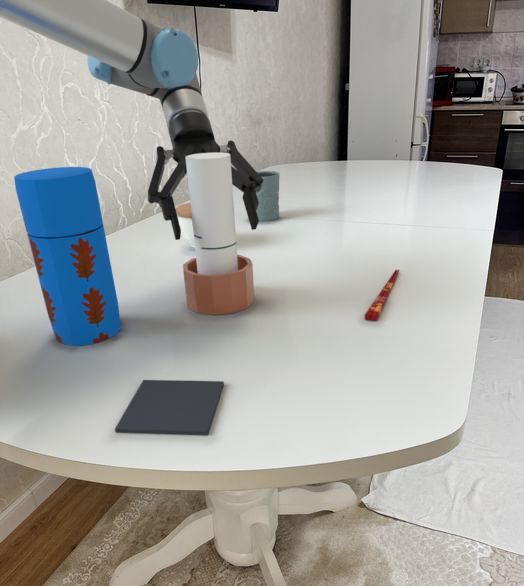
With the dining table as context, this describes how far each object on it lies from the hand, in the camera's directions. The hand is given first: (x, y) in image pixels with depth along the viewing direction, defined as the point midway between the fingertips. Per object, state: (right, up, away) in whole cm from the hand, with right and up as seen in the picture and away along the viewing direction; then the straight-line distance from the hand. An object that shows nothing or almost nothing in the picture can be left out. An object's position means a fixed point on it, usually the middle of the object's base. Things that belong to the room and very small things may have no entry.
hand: (217, 230), depth 87 cm
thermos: (-21, -17, 0) cm, 27 cm away
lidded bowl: (-6, +6, +41) cm, 41 cm away
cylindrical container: (0, -11, +8) cm, 14 cm away
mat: (-4, -27, -21) cm, 35 cm away
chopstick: (+29, -10, +8) cm, 32 cm away
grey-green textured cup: (+7, +18, +62) cm, 64 cm away
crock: (0, -11, +8) cm, 14 cm away
